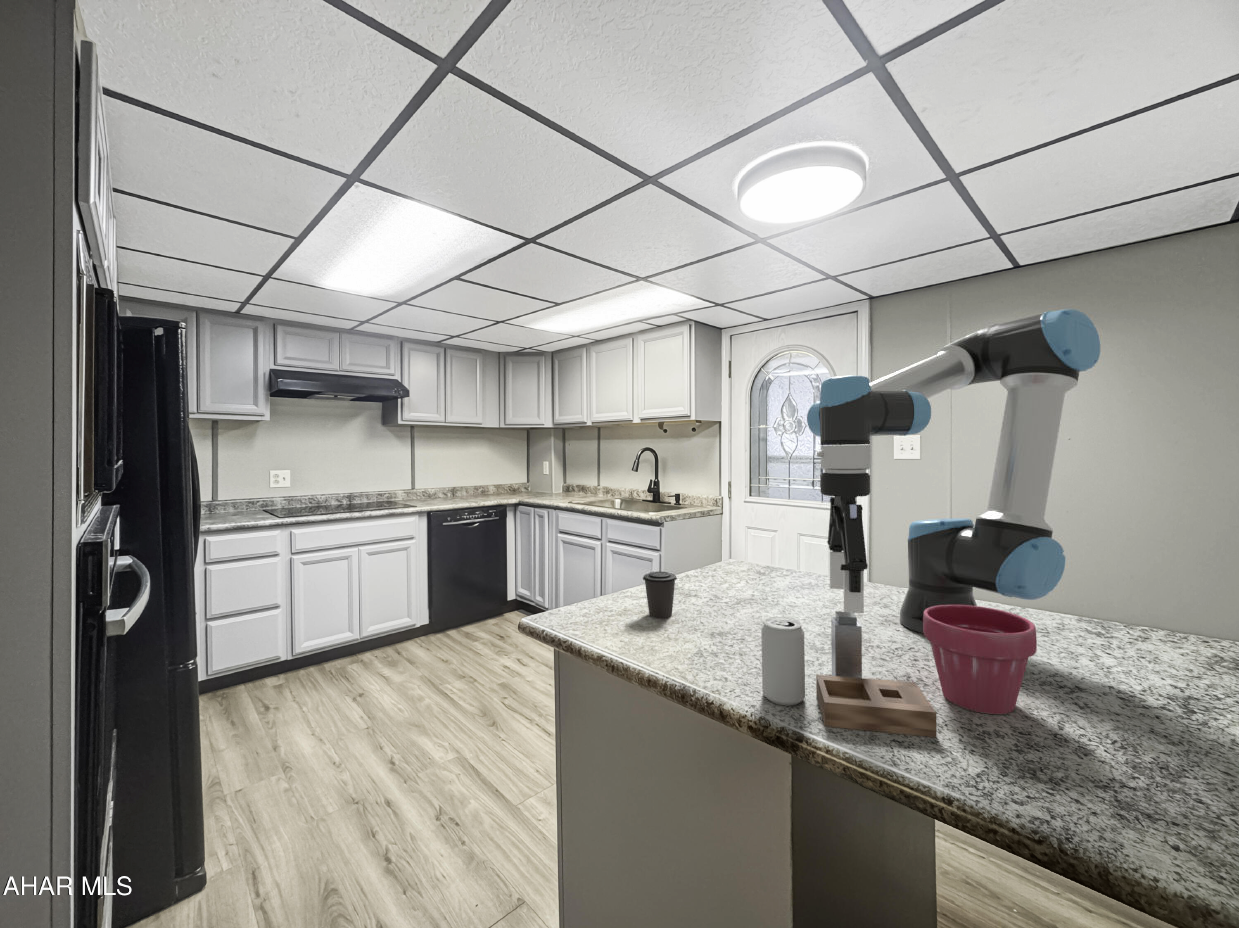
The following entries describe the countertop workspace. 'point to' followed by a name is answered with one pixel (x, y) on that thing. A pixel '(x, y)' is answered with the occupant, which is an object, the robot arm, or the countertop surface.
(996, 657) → the plant pot
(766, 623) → the beverage can
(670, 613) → the coffee cup
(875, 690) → the socket block
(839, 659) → the grey square peg
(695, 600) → the countertop surface
